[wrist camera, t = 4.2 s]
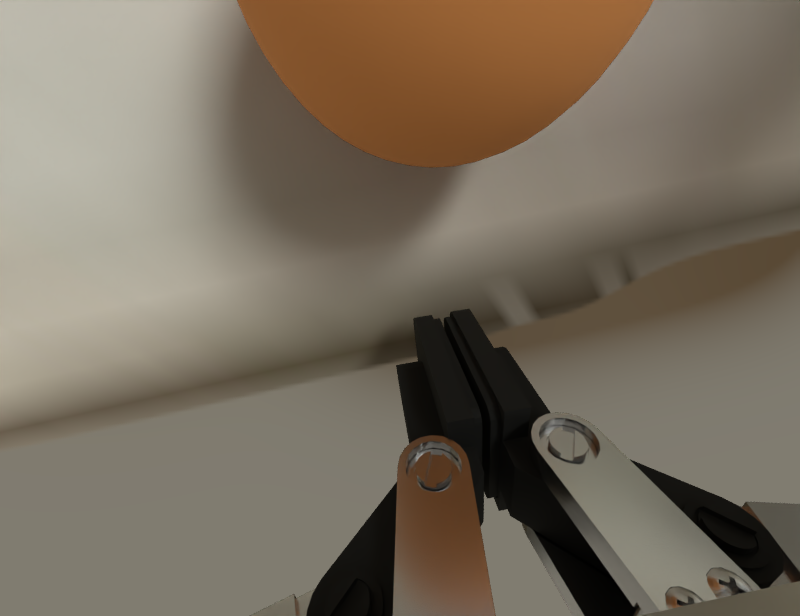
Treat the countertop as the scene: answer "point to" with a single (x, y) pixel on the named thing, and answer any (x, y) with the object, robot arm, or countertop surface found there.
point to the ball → (440, 67)
